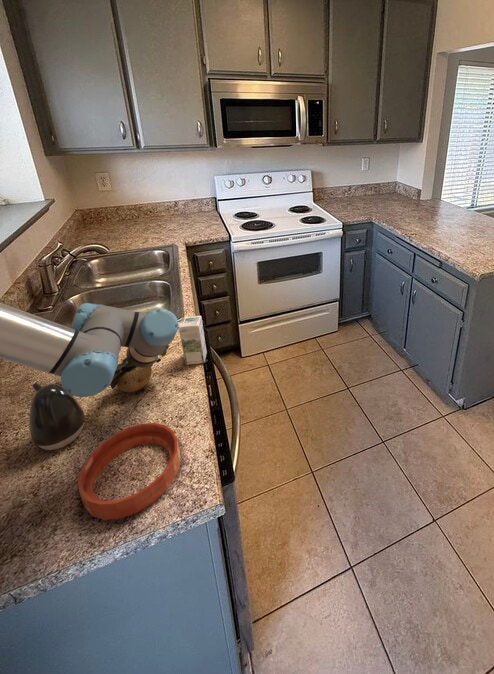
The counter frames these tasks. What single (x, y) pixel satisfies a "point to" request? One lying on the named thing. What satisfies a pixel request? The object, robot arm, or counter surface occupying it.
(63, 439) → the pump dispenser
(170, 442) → the orange rubber ring
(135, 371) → the natural sponge
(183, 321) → the syrup box
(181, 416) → the counter surface
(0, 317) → the robot arm
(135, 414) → the counter surface
